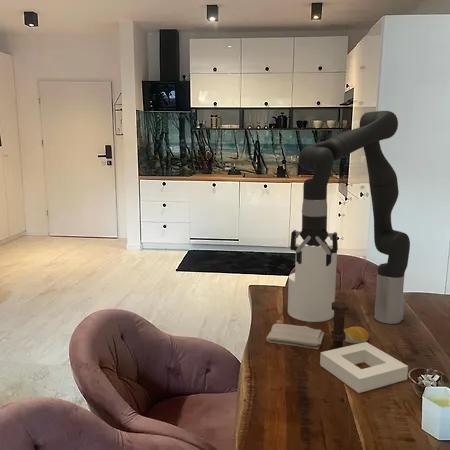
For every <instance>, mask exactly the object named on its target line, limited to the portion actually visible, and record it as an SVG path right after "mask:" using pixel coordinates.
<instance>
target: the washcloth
mask: <svg viewBox="0 0 450 450" xmlns="http://www.w3.org/2000/svg"><path fill="white" fill-rule="evenodd" d="M324 336H325V332H323V331H322V330H321V329H317V328H316V329H315V328H312V327H309V326H307V325H303V326H302V325H296V324H295V325H294V324H287V323H273V325H272V326H271V330H270V332H269V333H268V334H267V336H266V338H265V340H266V343H271V344H277V345H285V346H292V347H299V348H305V349H312V350H319V349H320V347H321V346H322V344H323V343H322V342H323V339H324Z"/></svg>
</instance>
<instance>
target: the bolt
mask: <svg viewBox="0 0 450 450" xmlns="http://www.w3.org/2000/svg"><path fill="white" fill-rule="evenodd" d="M331 308H332V310H334V316H333V328H332V329H333V330H332V331H331V334H330V337H331V340H332V350H333V349H338V348H342V347H344V342H345V341H344V340H345V339H346V333H345V332H344V329H345V317H346V316H345V315H346V312H349V303H347V302H345V301H341V300H340V301H338V300H335V302H332V305H331Z"/></svg>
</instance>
